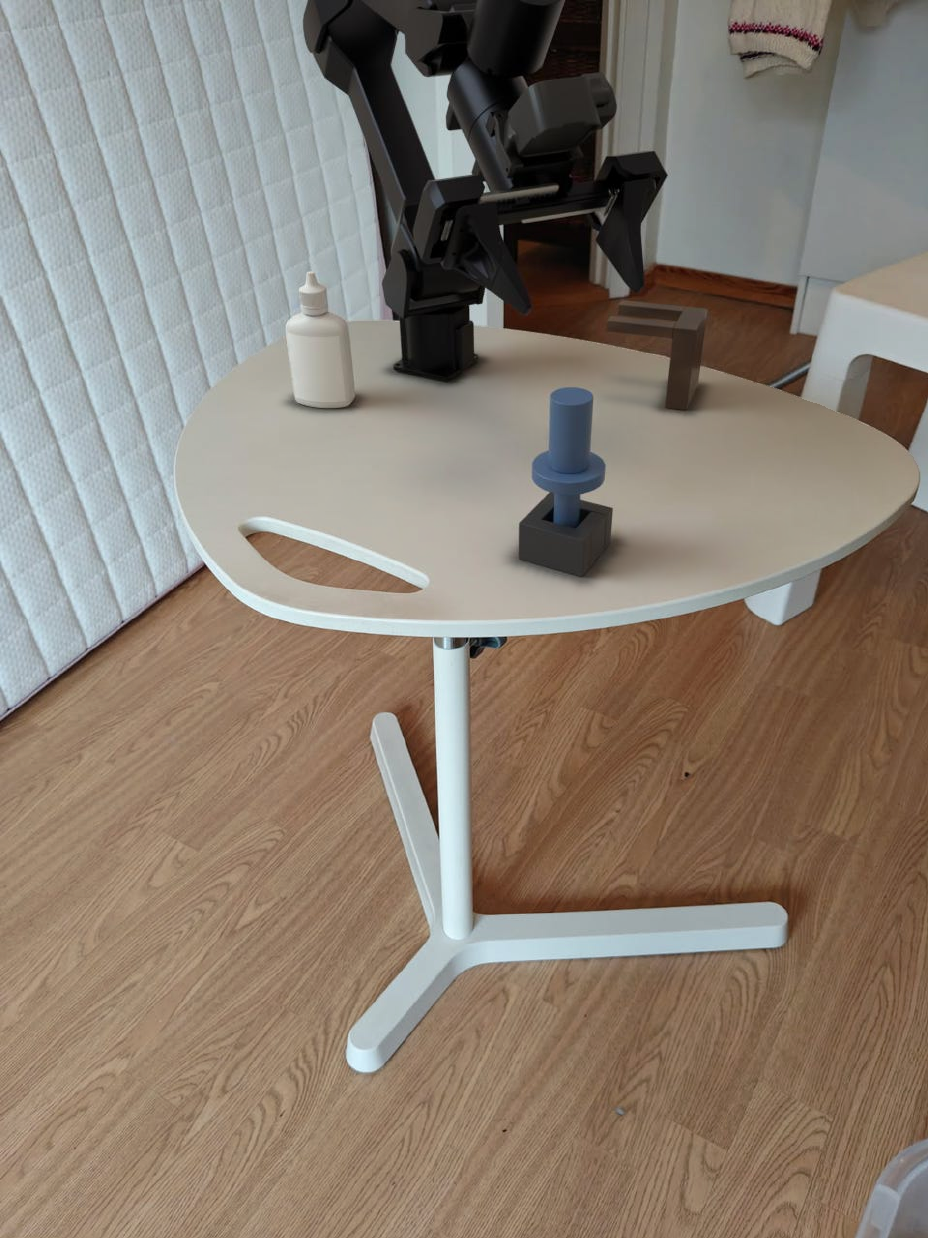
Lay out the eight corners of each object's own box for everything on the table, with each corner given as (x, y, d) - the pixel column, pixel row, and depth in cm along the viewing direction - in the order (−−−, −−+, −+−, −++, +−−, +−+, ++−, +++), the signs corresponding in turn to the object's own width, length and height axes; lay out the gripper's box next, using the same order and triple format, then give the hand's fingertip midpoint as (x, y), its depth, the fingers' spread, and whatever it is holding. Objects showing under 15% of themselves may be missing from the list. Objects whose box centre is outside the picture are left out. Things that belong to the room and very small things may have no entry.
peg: (518, 558, 70) (519, 402, 63) (548, 526, 73) (553, 374, 66) (582, 577, 68) (591, 418, 61) (610, 543, 71) (622, 388, 64)
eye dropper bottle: (327, 417, 90) (312, 285, 82) (288, 400, 93) (270, 272, 85) (362, 401, 92) (350, 272, 85) (323, 385, 95) (308, 260, 88)
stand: (601, 399, 91) (606, 320, 87) (616, 376, 95) (621, 299, 91) (686, 410, 89) (696, 329, 84) (697, 386, 93) (707, 308, 88)
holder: (518, 558, 70) (518, 522, 68) (548, 526, 73) (549, 491, 72) (582, 577, 68) (584, 540, 66) (610, 543, 71) (613, 507, 70)
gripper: (407, 44, 63) (497, 240, 59) (652, 23, 69) (747, 199, 65) (381, 175, 73) (456, 349, 69) (597, 146, 79) (676, 305, 75)
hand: (585, 300), depth 69 cm, fingers open, 9 cm apart
